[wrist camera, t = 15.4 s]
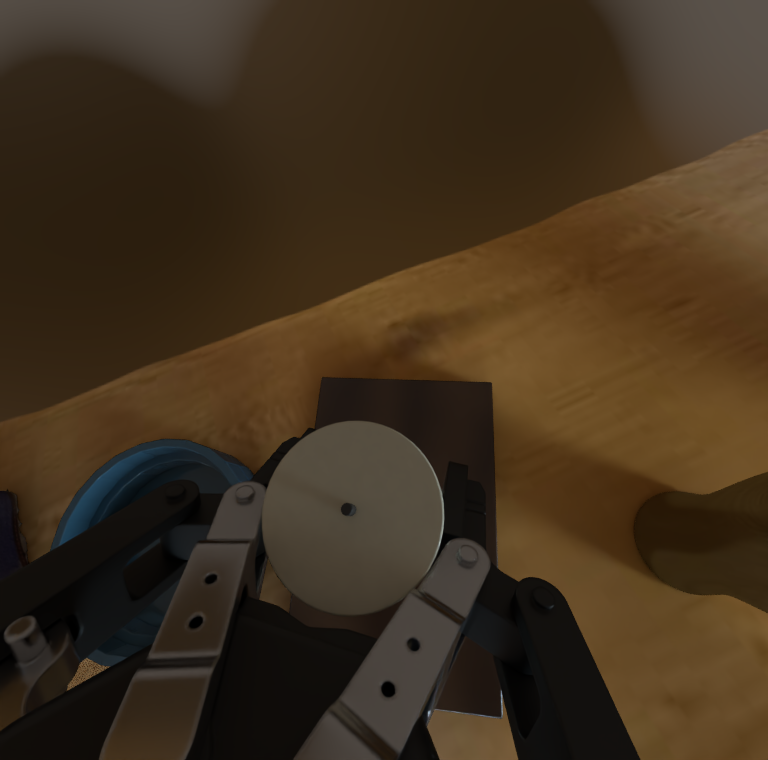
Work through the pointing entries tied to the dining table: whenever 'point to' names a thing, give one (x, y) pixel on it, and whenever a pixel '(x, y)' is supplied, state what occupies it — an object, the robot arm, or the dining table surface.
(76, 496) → the bowl
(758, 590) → the beer glass
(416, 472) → the candle
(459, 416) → the cutting board
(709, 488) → the dining table surface
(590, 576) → the dining table surface
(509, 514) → the dining table surface
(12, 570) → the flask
